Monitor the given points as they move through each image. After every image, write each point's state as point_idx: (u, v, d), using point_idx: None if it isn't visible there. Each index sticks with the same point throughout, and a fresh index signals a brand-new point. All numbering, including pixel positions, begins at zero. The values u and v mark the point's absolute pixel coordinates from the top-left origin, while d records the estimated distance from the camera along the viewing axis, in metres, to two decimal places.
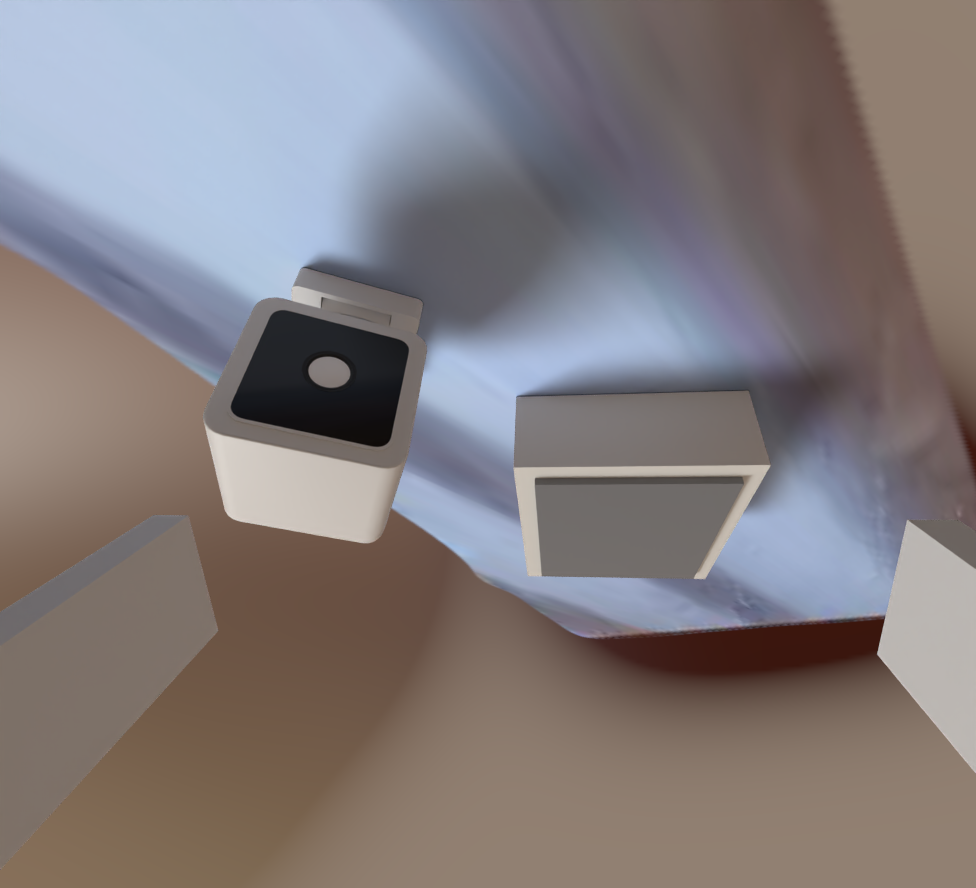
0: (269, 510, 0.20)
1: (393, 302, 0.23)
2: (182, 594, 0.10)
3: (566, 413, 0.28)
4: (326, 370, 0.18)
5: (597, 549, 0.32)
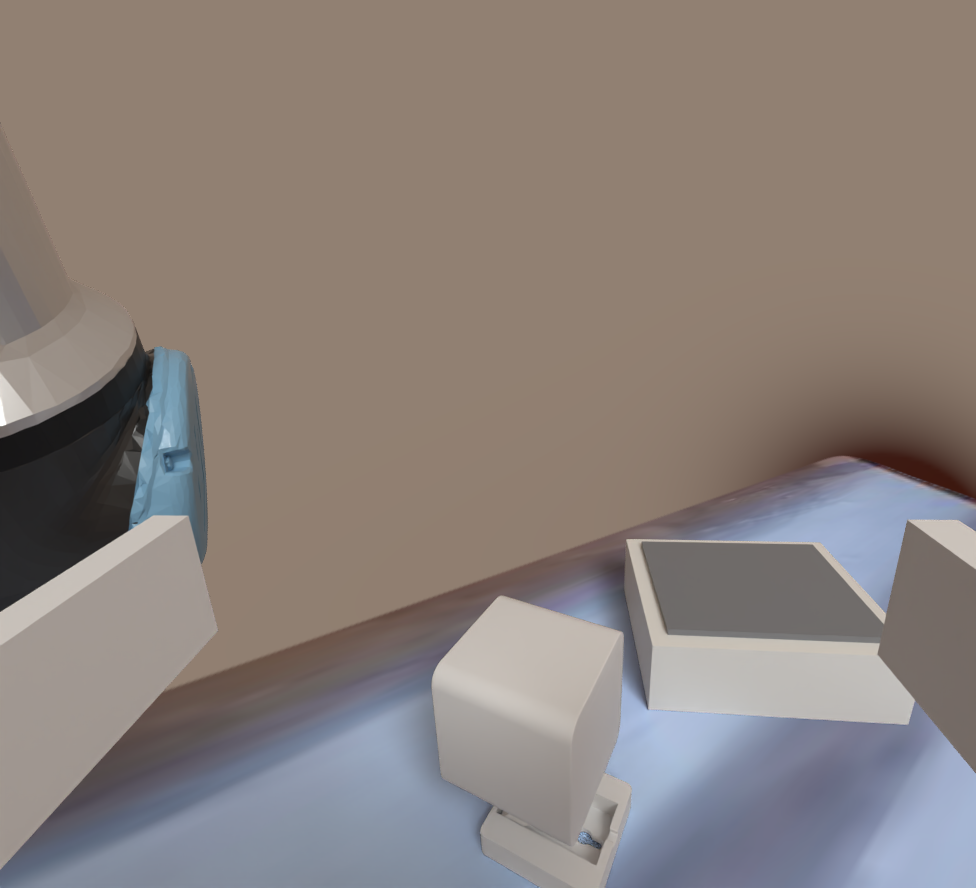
0: (554, 678, 0.21)
1: None
2: (182, 594, 0.10)
3: (642, 660, 0.33)
4: None
5: (783, 596, 0.33)
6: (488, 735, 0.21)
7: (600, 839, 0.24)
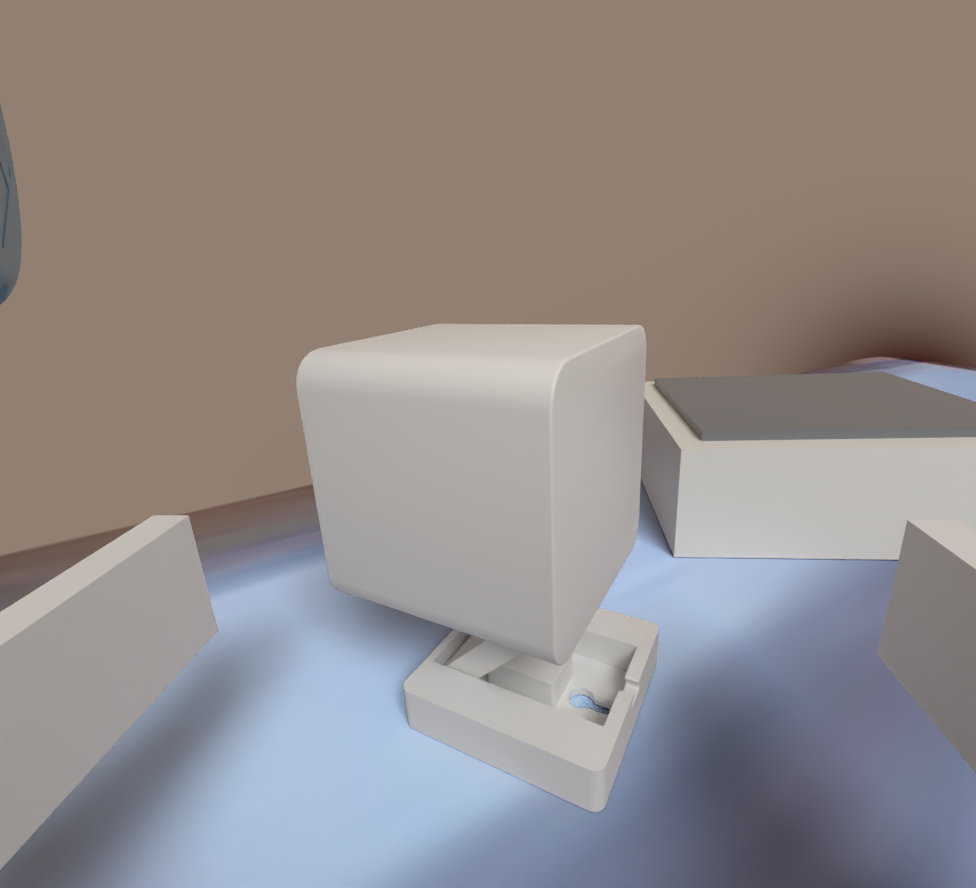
0: (522, 345, 0.11)
1: None
2: (182, 594, 0.10)
3: (662, 501, 0.23)
4: None
5: (862, 404, 0.23)
6: (394, 454, 0.11)
7: (609, 701, 0.14)
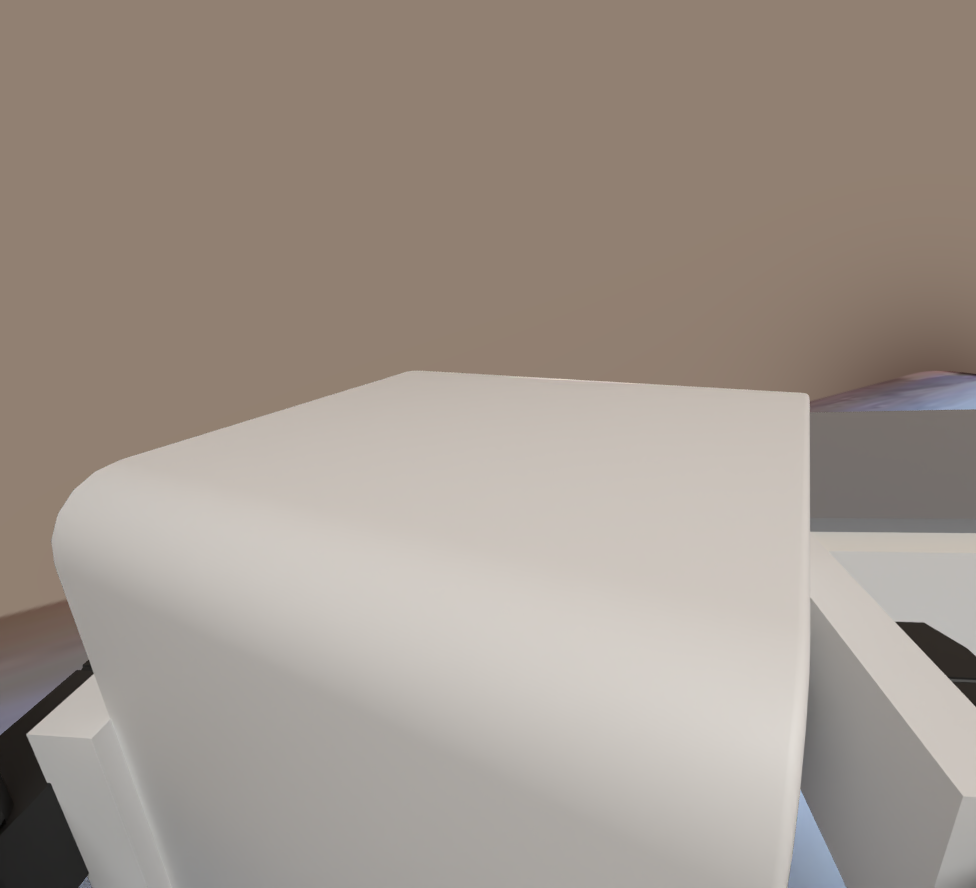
0: (591, 485, 0.04)
1: None
2: None
3: None
4: None
5: None
6: (257, 771, 0.04)
7: None
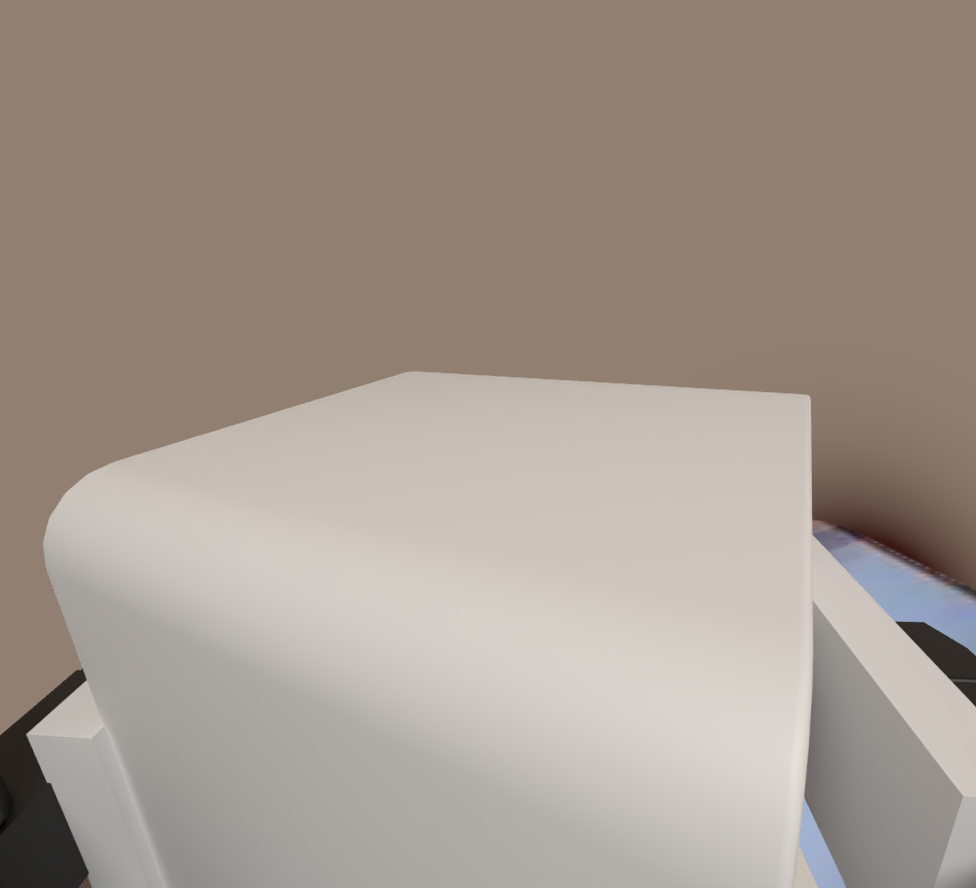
0: (589, 488, 0.04)
1: None
2: None
3: None
4: None
5: None
6: (250, 780, 0.04)
7: None
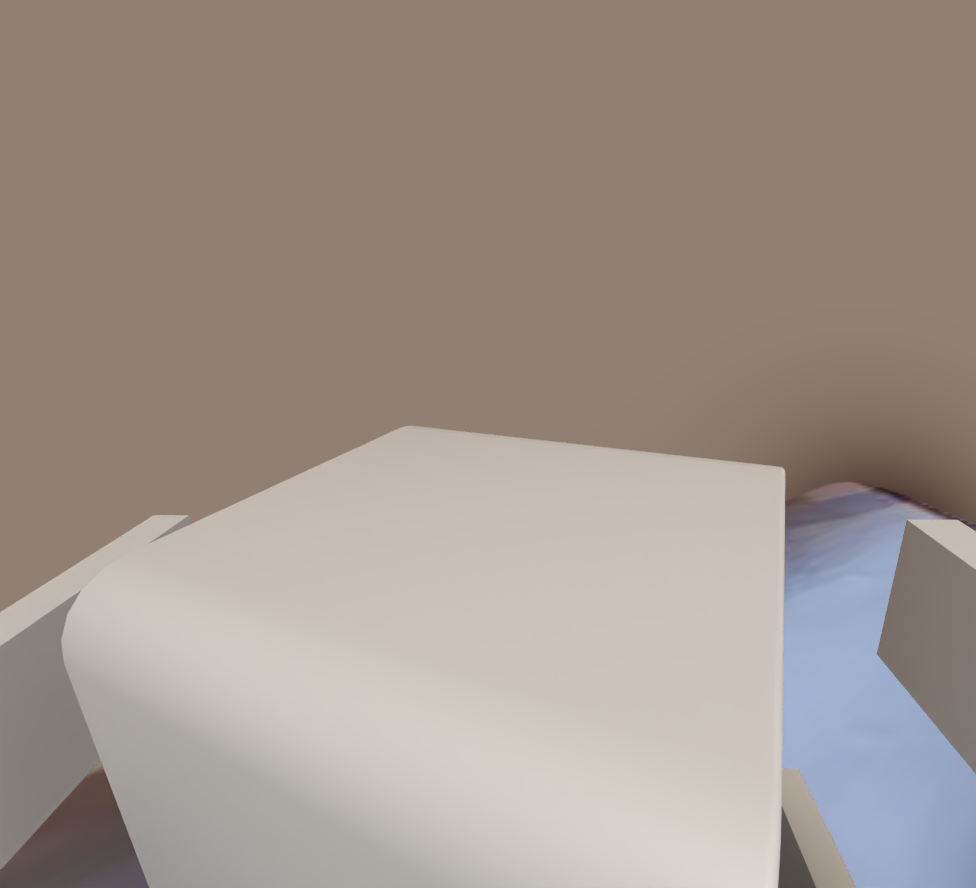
0: (583, 597, 0.04)
1: None
2: None
3: None
4: None
5: None
6: (269, 874, 0.04)
7: None
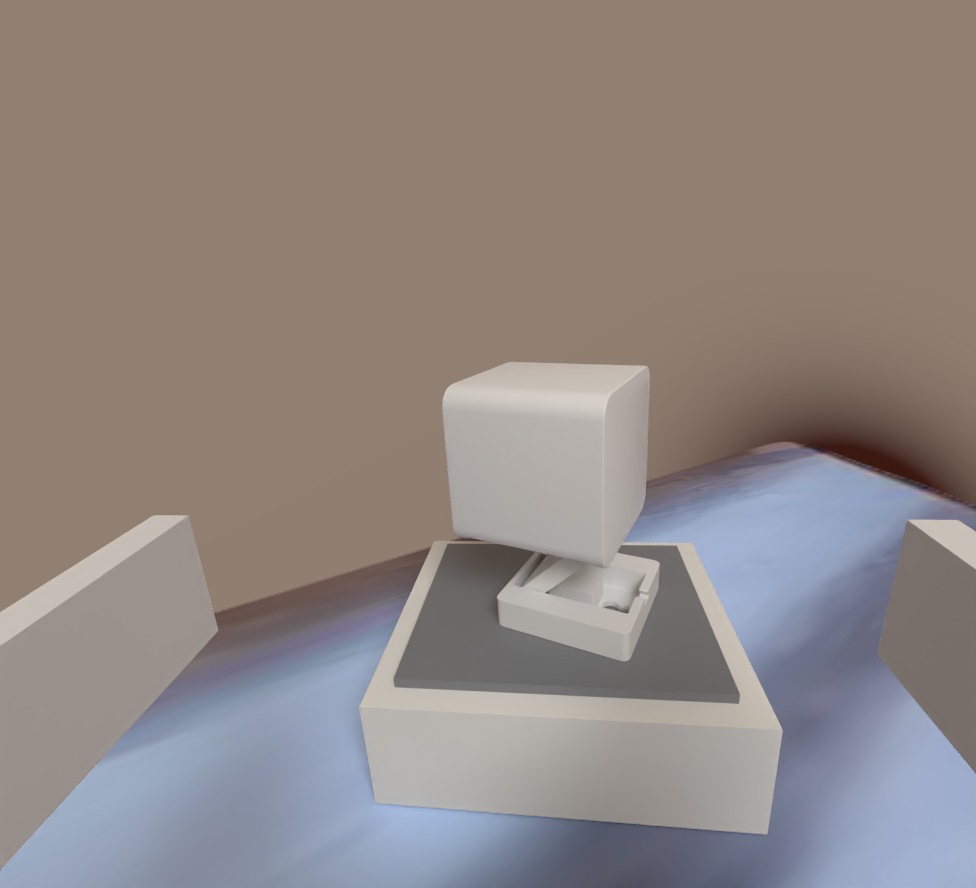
0: (580, 382, 0.19)
1: None
2: (182, 594, 0.10)
3: None
4: None
5: None
6: (507, 447, 0.18)
7: (628, 607, 0.22)
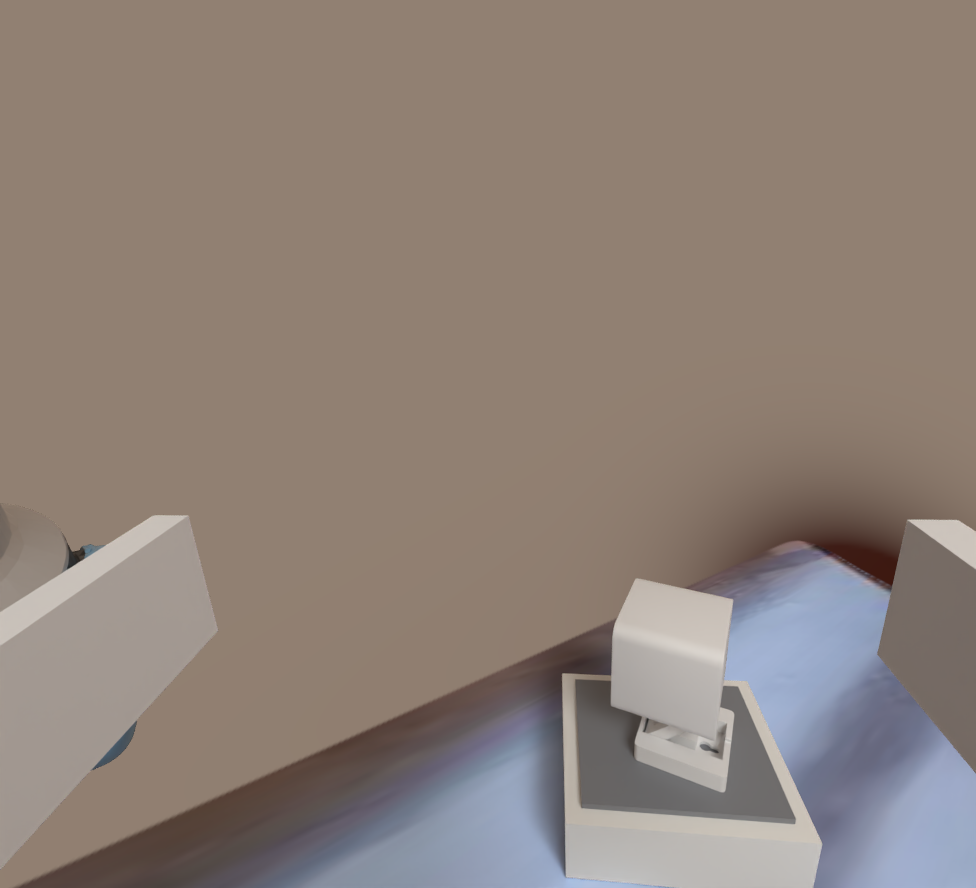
0: (699, 629, 0.31)
1: None
2: (182, 594, 0.10)
3: None
4: None
5: None
6: (656, 668, 0.31)
7: (717, 747, 0.34)
